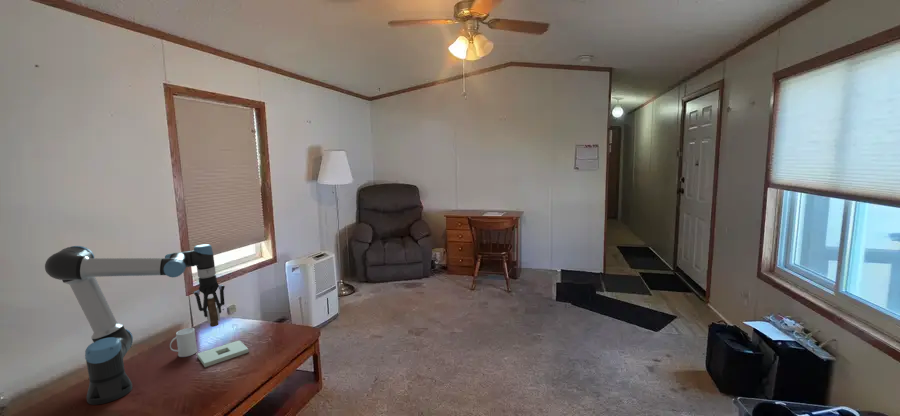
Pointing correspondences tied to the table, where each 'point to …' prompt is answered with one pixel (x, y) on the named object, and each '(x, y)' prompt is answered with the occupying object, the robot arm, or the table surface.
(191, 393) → the table surface
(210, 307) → the peg
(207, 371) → the table surface
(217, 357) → the socket board
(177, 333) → the mug
